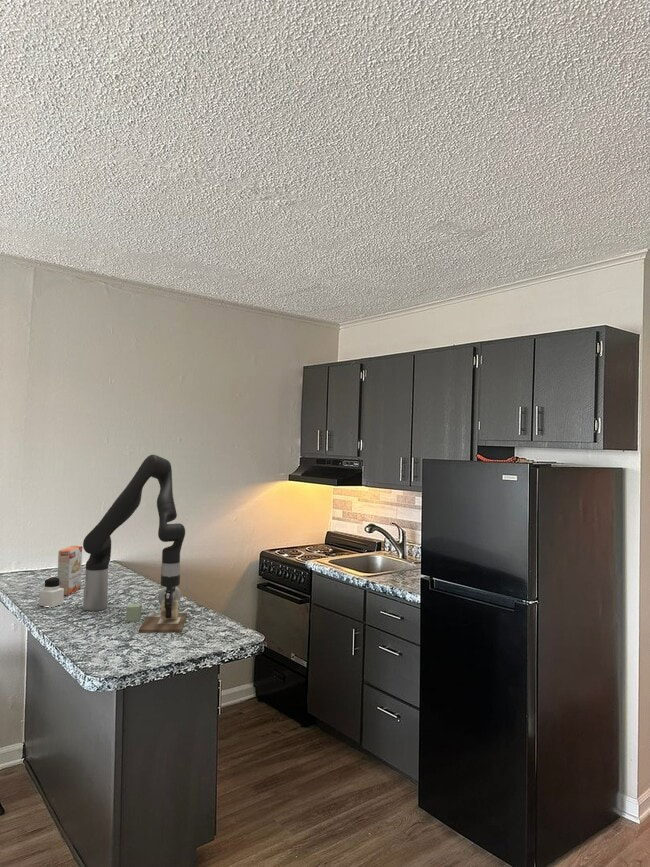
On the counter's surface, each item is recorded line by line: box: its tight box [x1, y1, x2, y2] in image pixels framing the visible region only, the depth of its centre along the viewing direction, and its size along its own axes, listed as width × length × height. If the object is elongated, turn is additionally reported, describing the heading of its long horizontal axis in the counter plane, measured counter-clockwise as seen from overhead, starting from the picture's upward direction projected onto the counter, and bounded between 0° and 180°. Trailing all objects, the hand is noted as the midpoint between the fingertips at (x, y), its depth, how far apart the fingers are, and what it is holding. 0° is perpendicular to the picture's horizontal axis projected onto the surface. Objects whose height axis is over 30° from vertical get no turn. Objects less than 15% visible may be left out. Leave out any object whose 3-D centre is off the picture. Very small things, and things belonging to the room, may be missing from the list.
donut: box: [157, 586, 182, 606], centre depth 269 cm, size 10×4×10 cm, turn 119°
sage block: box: [125, 603, 142, 623], centre depth 251 cm, size 5×5×6 cm
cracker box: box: [57, 545, 83, 596], centre depth 291 cm, size 14×6×21 cm, turn 179°
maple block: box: [160, 600, 179, 619], centre depth 247 cm, size 6×6×6 cm
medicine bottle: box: [38, 576, 65, 607], centre depth 268 cm, size 7×7×12 cm
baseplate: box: [138, 612, 188, 634], centre depth 246 cm, size 16×22×1 cm
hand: (169, 615), depth 247 cm, fingers closed on maple block, 6 cm apart
